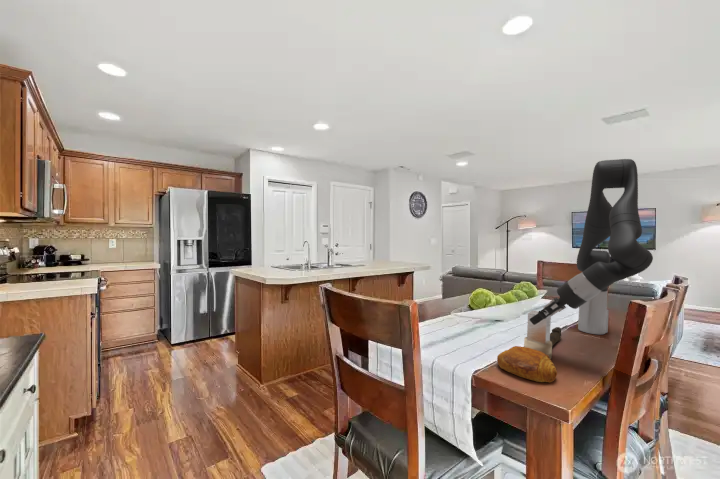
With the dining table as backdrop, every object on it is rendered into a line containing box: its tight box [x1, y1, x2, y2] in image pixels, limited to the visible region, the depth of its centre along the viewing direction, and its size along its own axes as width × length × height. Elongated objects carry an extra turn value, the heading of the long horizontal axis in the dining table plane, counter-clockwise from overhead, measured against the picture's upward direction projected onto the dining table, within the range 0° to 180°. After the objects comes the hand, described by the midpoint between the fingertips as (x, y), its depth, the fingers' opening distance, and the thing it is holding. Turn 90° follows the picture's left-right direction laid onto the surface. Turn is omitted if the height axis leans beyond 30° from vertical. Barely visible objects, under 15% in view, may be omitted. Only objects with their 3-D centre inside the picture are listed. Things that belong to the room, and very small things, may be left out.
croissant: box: [496, 345, 558, 384], centre depth 95 cm, size 14×16×8 cm
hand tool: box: [550, 326, 562, 347], centre depth 119 cm, size 19×4×5 cm, turn 133°
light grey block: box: [526, 310, 552, 345], centre depth 107 cm, size 5×5×9 cm
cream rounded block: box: [523, 336, 553, 360], centre depth 107 cm, size 8×8×8 cm
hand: (535, 319), depth 108 cm, fingers open, 8 cm apart
